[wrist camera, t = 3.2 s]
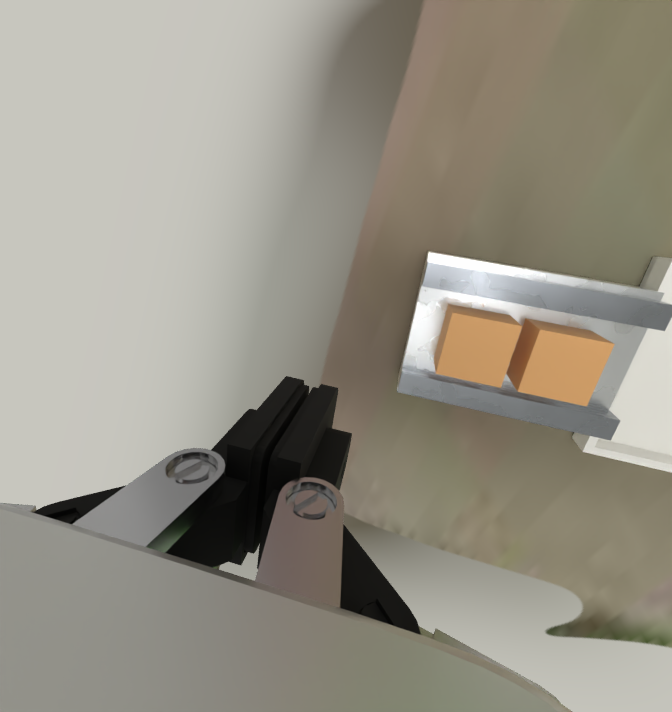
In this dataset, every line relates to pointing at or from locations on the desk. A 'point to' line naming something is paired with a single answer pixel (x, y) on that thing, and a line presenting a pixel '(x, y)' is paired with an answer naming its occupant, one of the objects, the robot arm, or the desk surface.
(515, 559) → the desk surface
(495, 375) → the chip
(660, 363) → the tray
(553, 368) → the orange square block
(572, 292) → the slot block
